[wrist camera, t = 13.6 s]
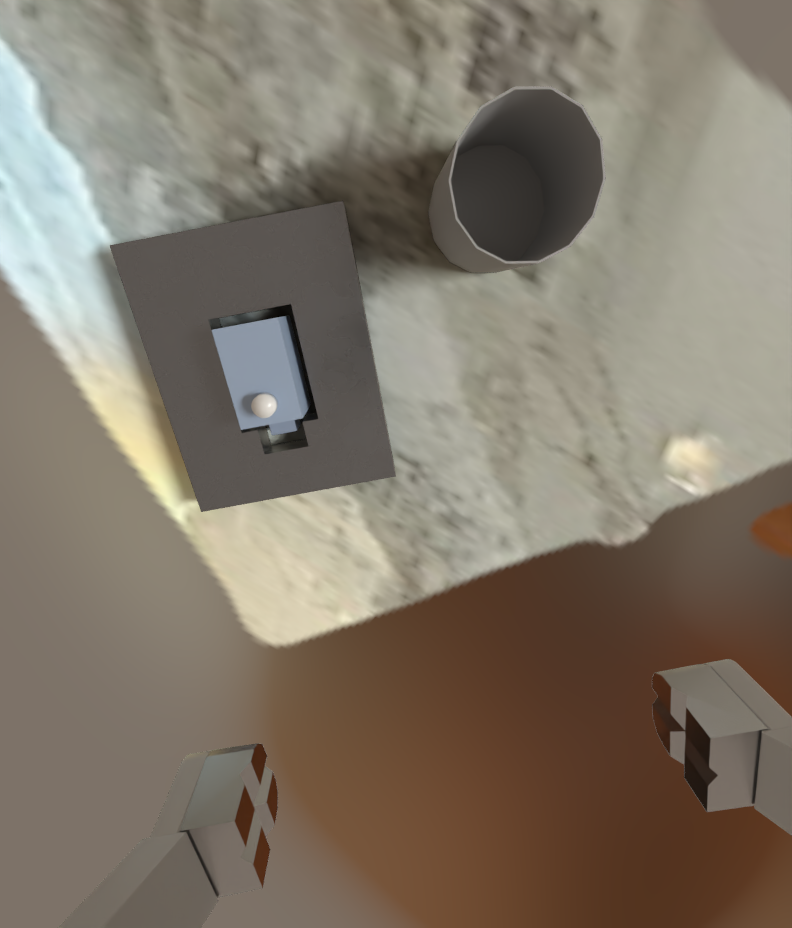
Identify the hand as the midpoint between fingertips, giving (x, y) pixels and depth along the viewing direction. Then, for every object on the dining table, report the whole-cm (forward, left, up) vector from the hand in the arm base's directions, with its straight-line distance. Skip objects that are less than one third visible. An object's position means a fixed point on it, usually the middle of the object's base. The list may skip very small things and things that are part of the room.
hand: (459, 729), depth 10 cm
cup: (-9, -13, -31) cm, 35 cm away
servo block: (+9, -5, -31) cm, 33 cm away
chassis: (+9, -5, -31) cm, 33 cm away
